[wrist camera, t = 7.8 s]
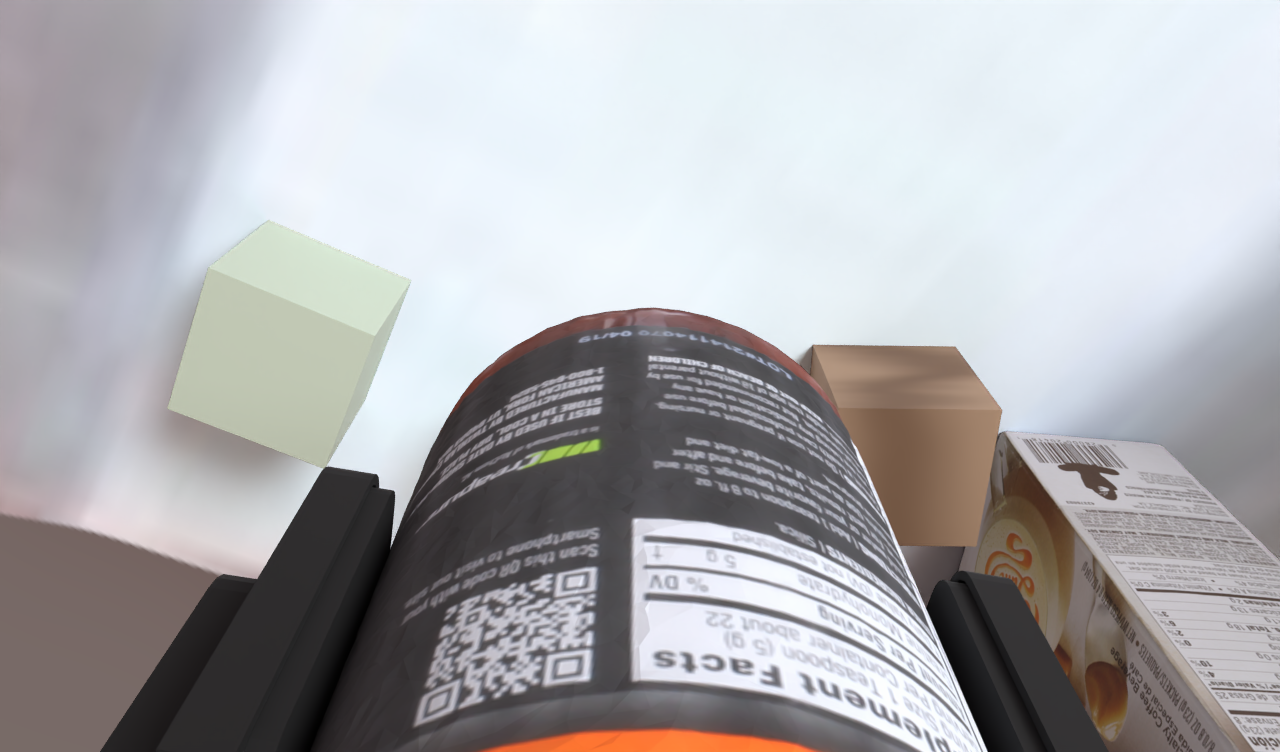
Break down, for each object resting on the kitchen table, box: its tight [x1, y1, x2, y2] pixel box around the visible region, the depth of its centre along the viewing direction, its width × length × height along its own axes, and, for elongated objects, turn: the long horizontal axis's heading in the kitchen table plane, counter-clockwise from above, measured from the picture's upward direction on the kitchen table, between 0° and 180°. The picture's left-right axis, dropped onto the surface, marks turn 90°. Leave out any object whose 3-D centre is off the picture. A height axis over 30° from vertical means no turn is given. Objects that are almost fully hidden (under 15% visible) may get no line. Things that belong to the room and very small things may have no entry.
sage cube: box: [167, 220, 411, 469], centre depth 32 cm, size 5×5×5 cm
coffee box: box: [959, 431, 1280, 752], centre depth 30 cm, size 9×6×16 cm
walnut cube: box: [810, 345, 1002, 547], centre depth 33 cm, size 5×5×5 cm
